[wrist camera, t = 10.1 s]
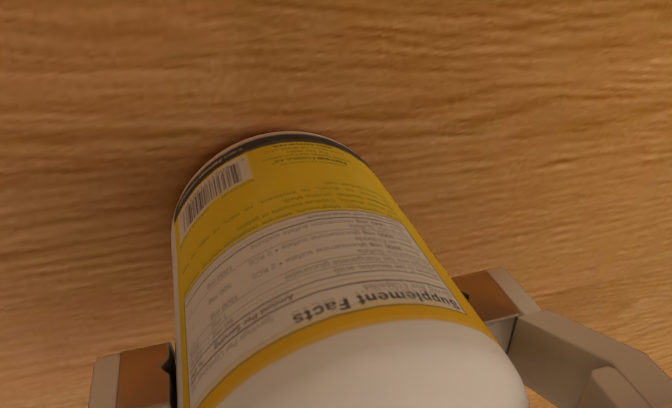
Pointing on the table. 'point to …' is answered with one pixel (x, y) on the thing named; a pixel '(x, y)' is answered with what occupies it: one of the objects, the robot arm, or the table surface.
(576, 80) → the table surface
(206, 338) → the pill bottle
